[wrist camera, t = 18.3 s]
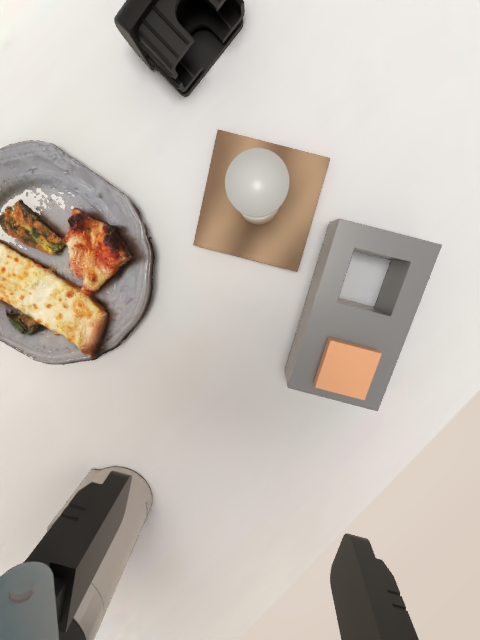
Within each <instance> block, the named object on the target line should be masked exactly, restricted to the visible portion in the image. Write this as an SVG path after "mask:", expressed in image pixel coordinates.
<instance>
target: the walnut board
mask: <svg viewBox="0 0 480 640" xmlns="http://www.w3.org/2000/svg"><path fill="white" fill-rule="evenodd" d="M252 148H264V149H267V150H270V151H272V152H274V153H275V154H277V155H278V156H279V157H280V158H281V159H282V160H283V162H284V163H285V165H286V167H287V170H288V173H289V189H288V193H287V196H286V198H285V200H284V202H283V203H282V205H281V206H280V207H279V210H278V212H277V214H276V216H275V217H274V218H273V219H272V220H271V221H269V222H268V223H265V224H261V225H256V224H252V223H250V222H248V221H247V220H245V219H244V217H243V216H242V215H241V213H240V212H239V211H238V210H236V209H235V207H234V206H233V205H232V204H231V202H230V200H229V199H228V196H227V193H226V189H225V177H226V173H227V170H228V167H229V165H230V164H231V162H232V161H233V160H234V158H235V157H236V156H238V155H239V154H240V153H242V152H244V151H246V150H248V149H252ZM329 161H330V158H328V157H324V156H320V155H316V154H312V153H308V152H304V151H300V150H297V149H293V148H289V147H285V146H281V145H277V144H273V143H269V142H265V141H261V140H257V139H253V138H249V137H245V136H241V135H237V134H234V133H230V132H226V131H222V130H218V131H217V136H216V140H215V145H214V150H213V155H212V159H211V164H210V169H209V174H208V178H207V183H206V188H205V192H204V197H203V202H202V207H201V211H200V216H199V221H198V226H197V230H196V235H195V240H194V245H196V246H200V247H203V248H207V249H211V250H215V251H219V252H223V253H227V254H231V255H234V256H238V257H242V258H246V259H250V260H254V261H258V262H262V263H265V264H269V265H273V266H277V267H281V268H285V269H289V270H293V271H296V272H297V271H298V268H299V264H300V261H301V257H302V254H303V251H304V247H305V244H306V240H307V237H308V233H309V230H310V226H311V223H312V219H313V216H314V213H315V209H316V206H317V202H318V199H319V195H320V192H321V188H322V185H323V182H324V178H325V175H326V171H327V168H328V164H329Z"/></svg>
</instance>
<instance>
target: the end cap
mask: <svg viewBox="0 0 480 640" xmlns="http://www.w3.org/2000/svg"><path fill="white" fill-rule="evenodd" d="M244 12H245V10H244V1H243V0H126V2H125V3H124V5H123V6H122V8H121V9H120V11H119V12H118V13H117V15H116V16H115V18H114V21H115V24H116V27H117V28H118V30H119V31H120V33H121V34H122V35H123V37H124V38H125V39H126V41H127V42H128V43H129V45H130V46H131V47H132V48H133V49H134V51H135V52H136V53H137V54H138V55H139V57H140V58H141V59H142V60H143V61H144V62H145V63H146V64H147V65H148V66H149V67H150V69H151V70H154V69H155V68H156V69H157V70H158V71H159V72H160V73H161V74H162V75H163V76H164V77H165V78H166V79H167V81H168V82H169V83H170V84H171V85H172V86H173V87H174V88H175V89H176V90H177V91H178V92H179V93H180V94H181V95H182V96H184V97H187V96H188V95H190V93H191V92H192V91H193V90H194V88H195V87H196V86H197V84H198V83H199V82H200V81H201V79H202V78H203V77H204V76H205V74H206V73H207V72H208V71H209V69H210V68H211V67H212V65H213V64H214V63H215V62H216V60H217V59H218V58H219V57H220V55H221V54H222V53H223V52H224V50H225V49H226V48H227V47H228V45H229V44H230V43H231V41H232V40H233V39H234V38H235V36H236V35H237V34H238V33H239V31H240V30H241V29H242V27H243V16H244Z"/></svg>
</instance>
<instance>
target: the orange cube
mask: <svg viewBox="0 0 480 640" xmlns="http://www.w3.org/2000/svg"><path fill="white" fill-rule="evenodd" d="M381 355H382V353H381V352H379V351H378V350H376V349H372V348H368V347H364V346H361V345H357V344H353V343H349V342H345V341H341V340H338V339H334V338H330V337H328V340H327V343H326V346H325V349H324V352H323V355H322V358H321V361H320V364H319V367H318V370H317V373H316V376H315V379H314V382H313V383H314V386H315V388H319V389H323V390H327V391H331V392H334V393H338V394H342V395H346V396H350V397H354V398H357V399H361V400H365V398H366V395H367V392H368V390H369V387H370V384H371V381H372V379H373V376H374V373H375V371H376V368H377V365H378V363H379V360H380V357H381Z"/></svg>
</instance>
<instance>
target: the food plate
mask: <svg viewBox="0 0 480 640" xmlns="http://www.w3.org/2000/svg"><path fill="white" fill-rule="evenodd" d="M56 147H57V146H56V145H54V144H52V143H46V142H43V141H33V140H30V141H22V142H18V143H15V144H10V145H8V146H5V147H4V148H1V149H0V212H1V209H2V207H3V205H5V204H6V203H7V202H8V201H9V200H10V199H13V198H14V197H15V195H20V194H22V193H23V192H24V190H25V189H27V190H28V189H30V190H33V192H34V193H36V188H41V190H42V191H43V192H44V193H45V194H47V195H48V198H45V197H44V195H42V198H45V200H44V203H45V204H46V205H47V208H46V209H44V206H43V207H42V206H41V205H43V203H42V202H43V200H42V199H40V200H38V201H40V207H38V206H37V208H36V210H39V211H41V210H40V209H42V210H43V211H41V212H40V213H41V215H39V213H36V212H33V211H32V210H31V208H29V207H28V206H27V205H25V204H24V203H23V201H22V200H21V199H20V200H19V201H18V202H16V203H15V205H14V206H13V207H7V208H6V209H5V212H2V213H3V214H2V215H0V225H1V227H2V229H3V230H4V231H5V233H7V234H8V235H11V236H12V237H15V238H17V239H18V240H17V239H15V242H16V243H17V244H16V246H15V245H14V244H12V243H11V242H9V244H8V242H6V241H4V240H0V341H2V342H4V343H5V344H7V345H9V346H11V347H12V348H14V349H16V348H17V349H16V350H17V351H19V350H20V351H19V352H21V353H24V355H25V354H27V355H26V356H28V357H30V356H31V357H33V358H34V359H33V360H36V361H39V362H43V363H47V364H63V365H64V364H69V363H75V362H81V361H90V360H95V359H97V358H98V357H100V356H101V355H102V354H104V353H106V352H108V351H111V350H113V349H114V348H116V347H118V346H119V345H120V344H121V342H122V341H123V340H125V339H126V338H127V336H128V335H129V334H130V332H132V330H133V329H134V328H135V327H136V326H137V324H138V323H139V322H140V320H141V318H142V317H143V316H144V314H145V312H146V310H147V308H148V307H147V306H148V305H149V303H150V300H151V293H152V280H153V279H152V277H153V276H152V274H153V264H154V259H155V258H154V257H155V256H154V252H153V246H152V243H151V241H150V238H151V237H149V239H148V238H147V230H146V226H145V224H144V223H143V222H142V221H141V220H140V218H139V216H138V215H139V211H138V209H137V208H136V207H135V205H134V204H133V203H132V202H131V200H130V199H129V198H128V197H127V196H125V194H124V193H121V192H120V191H119V190H118V189H116V188H115V187H114V186H112V185H111V184H109V183H108V182H106V181H105V180H103V179H102V178H101V177H99V176H98V175H96V174H95V173H94V172H92V171H91V170H90V169H88V168H86V167H85V166H83V165H82V164H81V163H79V162H78V161H77V160H75V159H74V158H72V157H71V156H69V155H68V154H63V152H62V150H59V149H57V148H58V147H57V148H56ZM64 153H65V152H64ZM53 188H55V189H53ZM58 192H63V193H64V194H61V195H60V194H59V193H58ZM67 192H71V193H72V194H73V195H75V197H73V196H72V194H68V193H67ZM31 193H32V192H31ZM39 194H40V193H36V196H37V195H39ZM51 194H55V195H56V196H61V197H62V200H64V204H65V205H66V207H65V211H64V210H63V209H62V208H60V207H59V205H61V204H60V203H59V202H58V204H59V205H57V203H56V202H55V201H54V200H52V198H51V197H50V196H51ZM26 196H28V193H26ZM36 196H35V198H36ZM68 196H70V197H68ZM47 199H48V200H49V203H47ZM56 200H58V199H56ZM78 200H79V201H78ZM66 201H67V202H66ZM48 206H49V207H50V208H52V209H49V208H48ZM71 206H74V209H73V210H72V209H70V207H71ZM91 207H93V208H94V209H93V208H91ZM52 227H53V228H52ZM2 236H3V235H2ZM151 239H152V238H151ZM19 244H20V245H22V246H23V249H21V248H19V246H18V245H19ZM17 246H18V247H17ZM24 247H27V250H25V249H24ZM78 276H80V277H81V278H82V279H81V278H79V277H78ZM31 359H32V358H31Z"/></svg>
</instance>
